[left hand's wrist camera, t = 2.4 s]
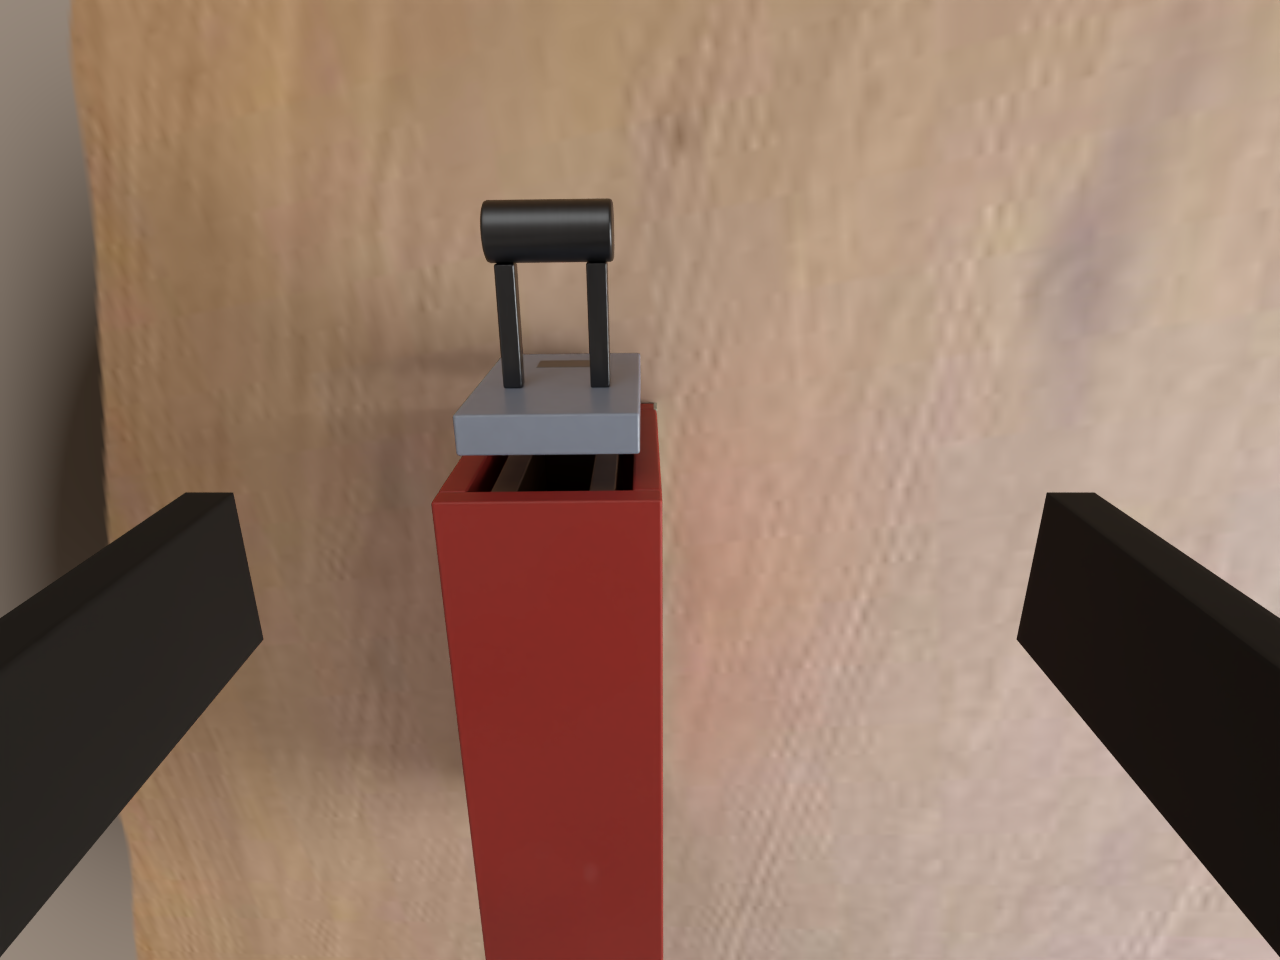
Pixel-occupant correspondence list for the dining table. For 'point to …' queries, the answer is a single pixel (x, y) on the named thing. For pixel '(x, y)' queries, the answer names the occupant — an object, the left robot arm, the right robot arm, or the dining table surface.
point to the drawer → (553, 361)
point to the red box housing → (560, 705)
